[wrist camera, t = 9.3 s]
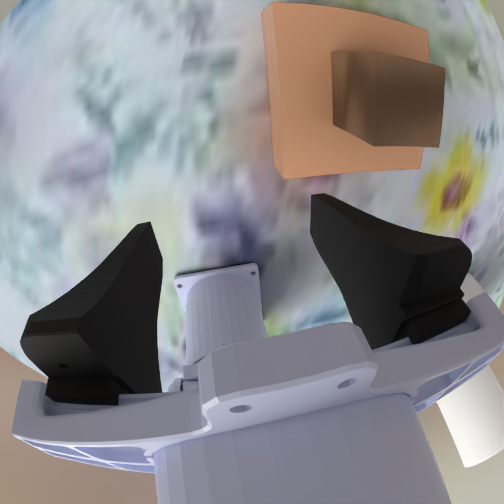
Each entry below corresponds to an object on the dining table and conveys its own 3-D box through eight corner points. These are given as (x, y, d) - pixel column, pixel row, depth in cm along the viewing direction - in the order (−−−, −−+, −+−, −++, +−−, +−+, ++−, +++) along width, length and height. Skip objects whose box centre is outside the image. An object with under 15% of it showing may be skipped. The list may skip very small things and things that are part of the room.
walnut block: (392, 125, 16) (438, 147, 13) (332, 124, 16) (373, 146, 12) (394, 60, 13) (444, 68, 9) (330, 52, 13) (375, 51, 9)
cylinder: (408, 349, 47) (461, 461, 25) (392, 319, 38) (467, 474, 16) (471, 300, 43) (534, 403, 21) (473, 254, 33) (566, 388, 11)
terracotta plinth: (400, 156, 21) (420, 169, 19) (273, 164, 20) (284, 179, 18) (404, 30, 14) (427, 30, 12) (261, 11, 13) (271, 2, 11)
